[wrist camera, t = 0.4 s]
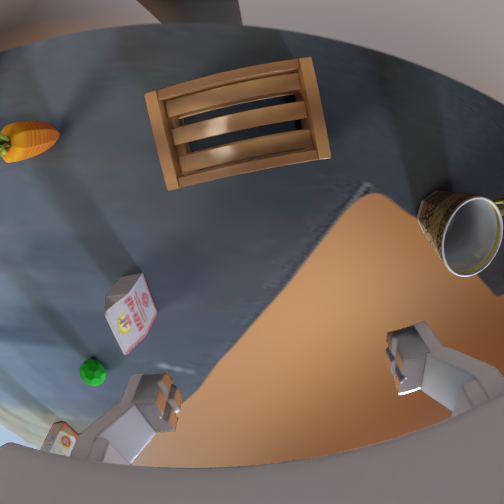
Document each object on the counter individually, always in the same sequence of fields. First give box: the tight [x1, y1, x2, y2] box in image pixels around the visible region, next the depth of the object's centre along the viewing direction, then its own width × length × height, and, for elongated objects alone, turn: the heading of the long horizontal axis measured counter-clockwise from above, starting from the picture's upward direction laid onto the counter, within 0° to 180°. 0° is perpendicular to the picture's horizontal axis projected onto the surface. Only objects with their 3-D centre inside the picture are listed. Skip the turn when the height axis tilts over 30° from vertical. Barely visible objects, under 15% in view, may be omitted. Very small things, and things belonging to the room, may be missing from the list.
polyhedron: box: [80, 359, 105, 386], centre depth 49 cm, size 5×5×5 cm
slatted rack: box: [144, 57, 331, 191], centre depth 32 cm, size 10×16×9 cm, turn 102°
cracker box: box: [40, 422, 78, 456], centre depth 54 cm, size 14×6×21 cm, turn 27°
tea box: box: [104, 273, 158, 355], centre depth 40 cm, size 4×7×10 cm, turn 11°
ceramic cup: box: [417, 190, 504, 277], centre depth 34 cm, size 13×10×10 cm
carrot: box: [0, 121, 60, 163], centre depth 29 cm, size 5×5×15 cm
